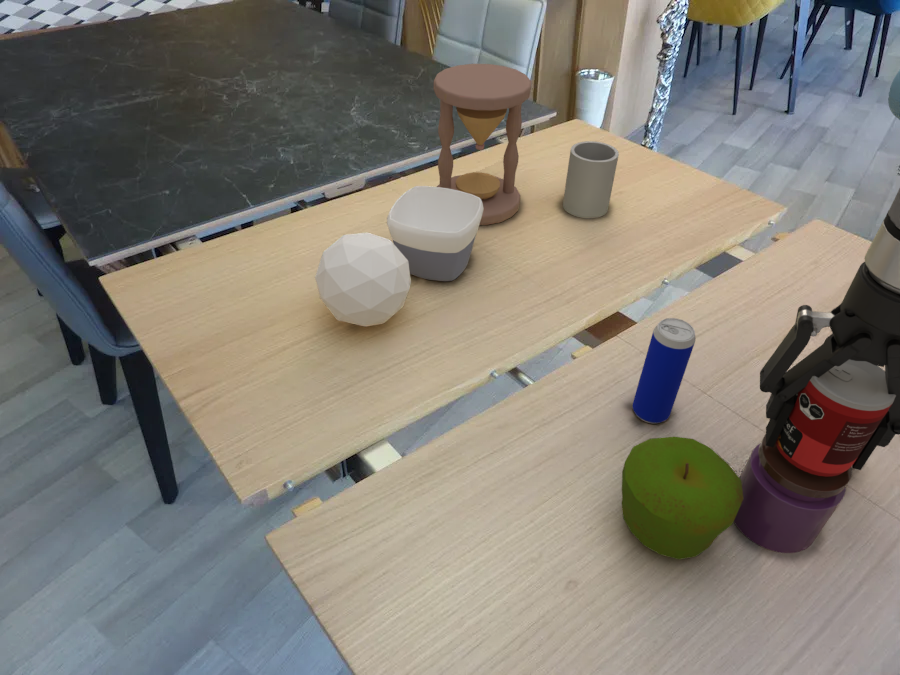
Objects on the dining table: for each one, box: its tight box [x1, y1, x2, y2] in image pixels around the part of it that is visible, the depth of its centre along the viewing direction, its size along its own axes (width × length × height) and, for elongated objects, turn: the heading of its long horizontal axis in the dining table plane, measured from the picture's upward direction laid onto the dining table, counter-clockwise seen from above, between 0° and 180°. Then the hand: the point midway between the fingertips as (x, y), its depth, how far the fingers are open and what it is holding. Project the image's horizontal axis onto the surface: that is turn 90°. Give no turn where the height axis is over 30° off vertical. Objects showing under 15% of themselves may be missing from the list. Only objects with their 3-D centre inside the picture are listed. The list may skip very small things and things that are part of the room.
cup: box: [562, 140, 620, 219], centre depth 132 cm, size 9×9×12 cm
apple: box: [621, 436, 743, 560], centre depth 75 cm, size 12×12×11 cm
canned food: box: [776, 359, 896, 477], centre depth 68 cm, size 8×8×11 cm
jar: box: [733, 433, 853, 554], centre depth 76 cm, size 10×10×11 cm
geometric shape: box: [314, 232, 412, 327], centre depth 103 cm, size 14×15×15 cm
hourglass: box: [433, 63, 532, 226], centre depth 128 cm, size 18×18×25 cm
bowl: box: [386, 185, 484, 282], centre depth 116 cm, size 15×15×11 cm
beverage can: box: [632, 317, 696, 425], centre depth 88 cm, size 5×5×15 cm
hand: (811, 448), depth 72 cm, fingers closed on canned food, 8 cm apart
